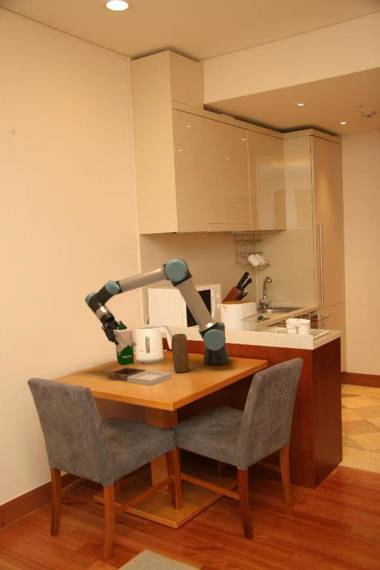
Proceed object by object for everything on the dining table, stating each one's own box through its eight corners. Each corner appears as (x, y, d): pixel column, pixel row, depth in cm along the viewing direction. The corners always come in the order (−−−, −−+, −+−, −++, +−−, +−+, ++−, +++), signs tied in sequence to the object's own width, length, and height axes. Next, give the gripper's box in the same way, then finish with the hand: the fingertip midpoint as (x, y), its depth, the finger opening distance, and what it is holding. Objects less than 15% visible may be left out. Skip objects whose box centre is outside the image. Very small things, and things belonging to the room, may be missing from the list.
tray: (171, 377, 280) (171, 372, 280) (151, 385, 267) (150, 380, 267) (148, 374, 290) (147, 370, 290) (127, 382, 277) (127, 377, 277)
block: (190, 372, 290) (187, 335, 288) (176, 374, 288) (174, 336, 286) (185, 368, 300) (183, 332, 299) (172, 369, 298) (169, 333, 297)
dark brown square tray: (146, 375, 289) (145, 369, 289) (128, 381, 278) (127, 375, 278) (127, 372, 298) (126, 367, 297) (108, 378, 286) (108, 373, 286)
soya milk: (131, 360, 293) (128, 324, 291) (136, 363, 285) (133, 326, 283) (115, 363, 290) (112, 326, 288) (120, 366, 281) (116, 328, 280)
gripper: (116, 318, 304) (139, 347, 295) (87, 324, 286) (111, 356, 278) (122, 308, 300) (146, 338, 292) (93, 314, 283) (117, 346, 274)
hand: (129, 347), depth 285 cm, fingers closed on soya milk, 9 cm apart
